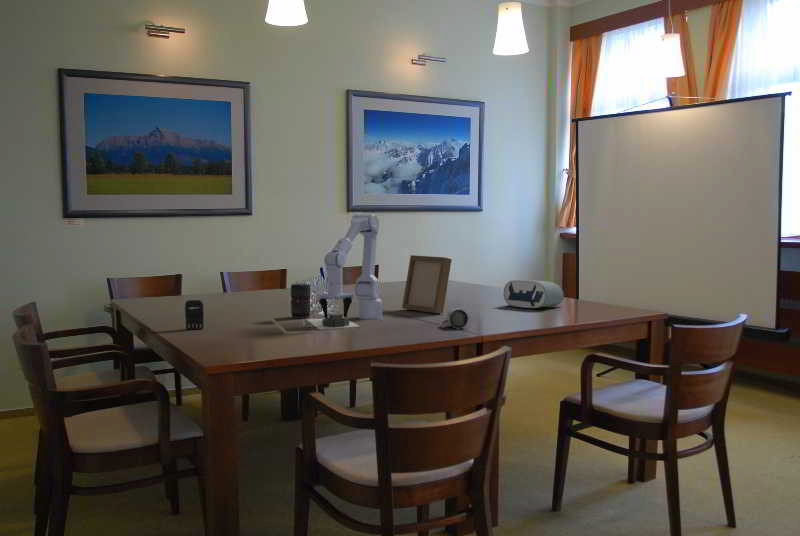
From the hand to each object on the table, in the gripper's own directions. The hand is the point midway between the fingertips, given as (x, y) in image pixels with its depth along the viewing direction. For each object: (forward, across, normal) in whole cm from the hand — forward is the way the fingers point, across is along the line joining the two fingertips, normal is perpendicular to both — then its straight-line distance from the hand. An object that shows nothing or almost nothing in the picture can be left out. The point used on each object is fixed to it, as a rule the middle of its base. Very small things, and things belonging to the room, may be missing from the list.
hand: (335, 317), depth 266 cm
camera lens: (+4, -9, +24) cm, 26 cm away
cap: (+3, 0, 0) cm, 3 cm away
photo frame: (+4, +51, +29) cm, 59 cm away
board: (+4, 0, +6) cm, 7 cm away
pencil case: (+4, +102, +25) cm, 105 cm away
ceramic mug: (+4, +43, -16) cm, 46 cm away
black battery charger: (+4, -52, +15) cm, 54 cm away
